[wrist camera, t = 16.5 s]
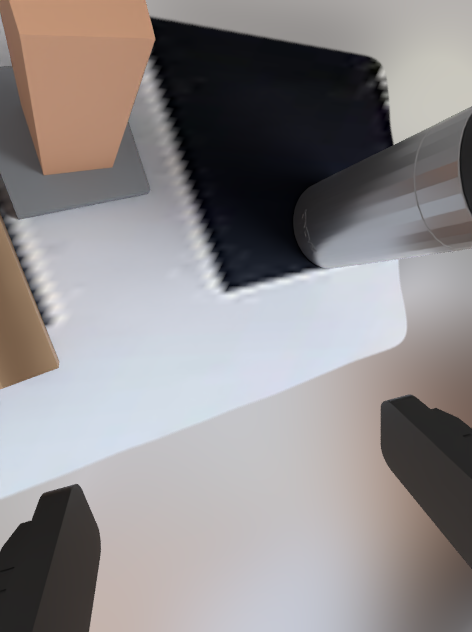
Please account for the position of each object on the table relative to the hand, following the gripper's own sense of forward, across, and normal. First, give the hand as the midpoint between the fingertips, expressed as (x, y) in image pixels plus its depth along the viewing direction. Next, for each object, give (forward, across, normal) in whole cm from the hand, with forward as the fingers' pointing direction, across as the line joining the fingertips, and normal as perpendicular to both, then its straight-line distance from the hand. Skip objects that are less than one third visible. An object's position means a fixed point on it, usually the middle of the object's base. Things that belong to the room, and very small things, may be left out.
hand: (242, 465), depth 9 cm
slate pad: (+26, +7, -11) cm, 29 cm away
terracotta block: (+25, +6, -11) cm, 28 cm away
